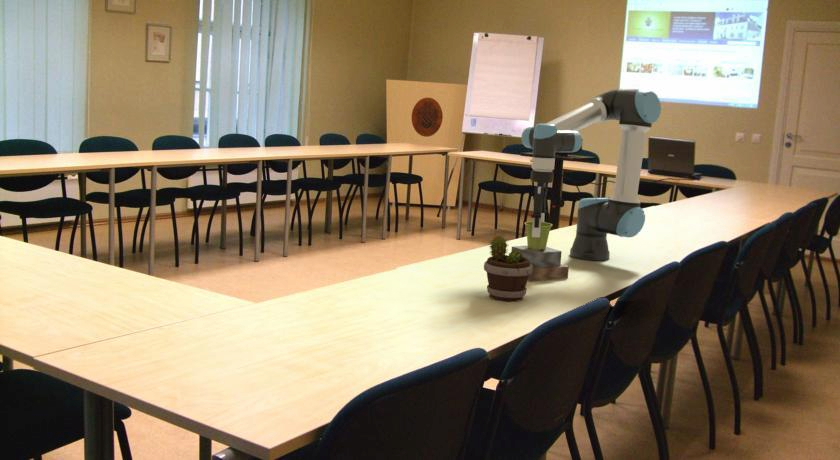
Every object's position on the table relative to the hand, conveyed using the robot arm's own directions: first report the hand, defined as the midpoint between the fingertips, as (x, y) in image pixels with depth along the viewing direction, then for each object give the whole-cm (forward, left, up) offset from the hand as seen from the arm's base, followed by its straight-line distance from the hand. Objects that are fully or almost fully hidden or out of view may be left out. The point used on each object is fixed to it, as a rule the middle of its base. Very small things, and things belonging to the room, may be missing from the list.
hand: (537, 234), depth 279 cm
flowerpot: (+29, +22, -14) cm, 39 cm away
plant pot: (0, 0, -5) cm, 5 cm away
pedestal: (0, 0, -14) cm, 14 cm away
